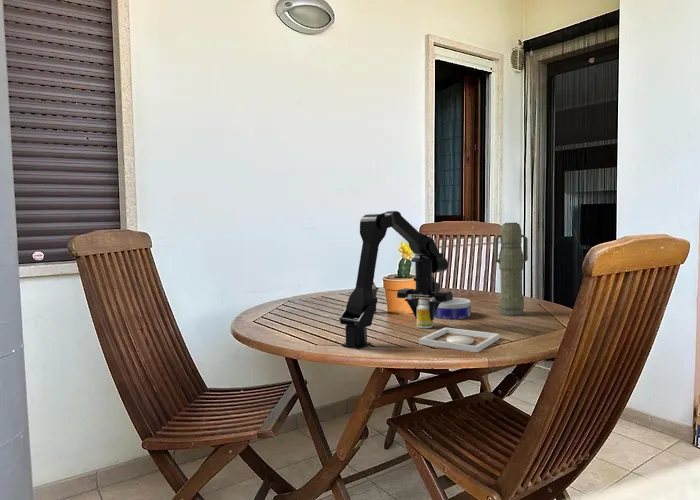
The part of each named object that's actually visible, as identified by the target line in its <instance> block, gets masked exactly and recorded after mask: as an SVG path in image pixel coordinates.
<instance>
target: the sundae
mask: <svg viewBox="0 0 700 500" xmlns="http://www.w3.org/2000/svg"><path fill="white" fill-rule="evenodd" d="M378 290H380V288H379V287H378V286H377V285H376V283H375V282H374V281H373V286H372V293H373V296H374V297H377V293H378ZM377 313H378V312H377V311H375V313H374V315H375V314H377Z"/></svg>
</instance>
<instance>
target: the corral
mask: <svg viewBox="0 0 700 500" xmlns="http://www.w3.org/2000/svg"><path fill="white" fill-rule="evenodd" d="M445 333H446V334H453V335H458V336H468V337H476V338H477V337H478V338H484V339H485V340H483V341H481V342H479V343H477V344H476V345H471V344H467V345H465V344H458V343H451V342H447V341H441V340H435V339H436V338H438V337H441V336H444V335H445ZM500 335H501V334H500V333H496V332H488V331H478V330H468V329H461V328H454V327H453V328H452V327H443V328H440V329H439V330H437V331H434V332H431V333H429V334H427V335H425V336H423V337H420V338H419V339H418V344H419V345H422V344H423V345H424V346H430V347H437V348H444V349H445V348H446V349H450V348H451V349H452V350H456V351H457V350H458V351H464V352H472V353H479V352H481V351H482V350H484V349H485V348H487V347H490V346H491V345H492V344H494V343H495V342H497V341H498V340H499V339H500V338H501V337H500ZM423 345H422V346H423ZM451 349H450V350H451Z"/></svg>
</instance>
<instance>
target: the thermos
mask: <svg viewBox="0 0 700 500" xmlns="http://www.w3.org/2000/svg"><path fill="white" fill-rule="evenodd" d="M522 238H523V247H522ZM499 239H500V252H499V250H498V249H499V245H498V240H499ZM528 241H529V239H528V238H527V237H526V235H525V234H522V227H521V225H520V223H518V222H504V223H503V224H502V225H501V229H500V234H497V235H496V236H495V237H494V262H496V263H497V264H498V265H499V267H498V268H499V272H500V293H499V297H498V298H499V299H498V300H499V314H500V315H501V316H505V317H507V316H508V317H520V316H523V315H524V308H525V297H524V294H523V271H524V264H525V263H526V262H527V261H528V260H529V259H528V258H529V257H528V255H529V251H528V249H529V248H528ZM522 248H523V249H522ZM523 251H524V252H523Z"/></svg>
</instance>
